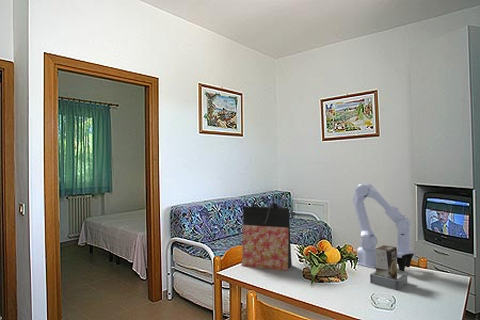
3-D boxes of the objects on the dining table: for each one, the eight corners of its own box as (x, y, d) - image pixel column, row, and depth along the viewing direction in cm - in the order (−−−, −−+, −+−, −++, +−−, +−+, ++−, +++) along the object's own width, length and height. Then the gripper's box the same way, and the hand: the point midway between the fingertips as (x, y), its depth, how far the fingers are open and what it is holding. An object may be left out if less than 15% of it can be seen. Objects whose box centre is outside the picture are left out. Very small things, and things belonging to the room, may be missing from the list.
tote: (370, 283, 142) (370, 274, 142) (380, 276, 151) (380, 267, 151) (397, 290, 134) (397, 281, 134) (407, 282, 142) (407, 274, 142)
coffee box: (390, 287, 137) (389, 251, 137) (375, 283, 142) (374, 248, 142) (398, 281, 143) (397, 247, 143) (384, 278, 148) (383, 244, 148)
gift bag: (239, 267, 167) (238, 202, 167) (248, 259, 180) (247, 199, 181) (293, 273, 156) (292, 204, 157) (298, 264, 170) (297, 201, 170)
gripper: (407, 246, 149) (408, 274, 148) (417, 240, 159) (418, 267, 158) (392, 243, 154) (392, 270, 154) (402, 238, 164) (403, 264, 163)
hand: (404, 268), depth 156 cm, fingers open, 7 cm apart
